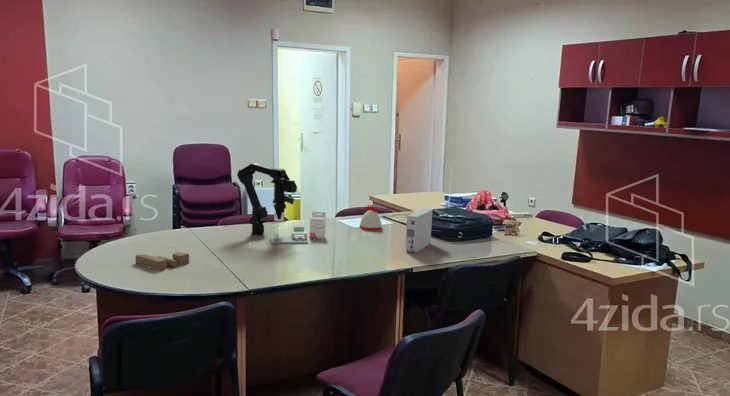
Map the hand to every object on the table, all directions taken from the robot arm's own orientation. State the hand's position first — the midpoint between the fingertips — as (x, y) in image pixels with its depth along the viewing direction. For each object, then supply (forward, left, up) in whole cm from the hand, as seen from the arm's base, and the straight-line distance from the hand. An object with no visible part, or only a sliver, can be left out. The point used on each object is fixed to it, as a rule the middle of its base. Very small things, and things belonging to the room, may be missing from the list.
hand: (279, 218), depth 311 cm
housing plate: (+5, -9, -11) cm, 15 cm away
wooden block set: (-56, -50, -12) cm, 76 cm away
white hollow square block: (0, 0, -1) cm, 1 cm away
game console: (+75, -28, -11) cm, 81 cm away
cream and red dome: (+59, +23, -11) cm, 64 cm away
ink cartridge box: (+22, -1, -11) cm, 25 cm away
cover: (+11, -6, -10) cm, 16 cm away
